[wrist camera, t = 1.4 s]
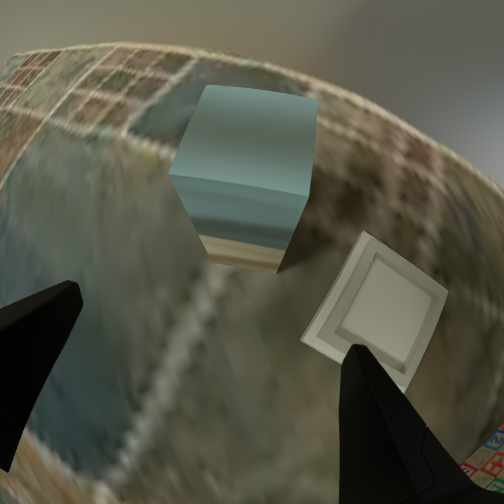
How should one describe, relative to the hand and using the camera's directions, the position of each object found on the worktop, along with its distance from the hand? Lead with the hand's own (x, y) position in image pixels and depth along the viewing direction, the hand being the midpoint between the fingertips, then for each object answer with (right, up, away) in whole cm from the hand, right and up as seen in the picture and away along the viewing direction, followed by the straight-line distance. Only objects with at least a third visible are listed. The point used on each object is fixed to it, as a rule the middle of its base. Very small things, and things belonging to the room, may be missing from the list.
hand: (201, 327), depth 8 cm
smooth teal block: (+1, +3, +15) cm, 15 cm away
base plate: (+12, -3, +13) cm, 18 cm away
